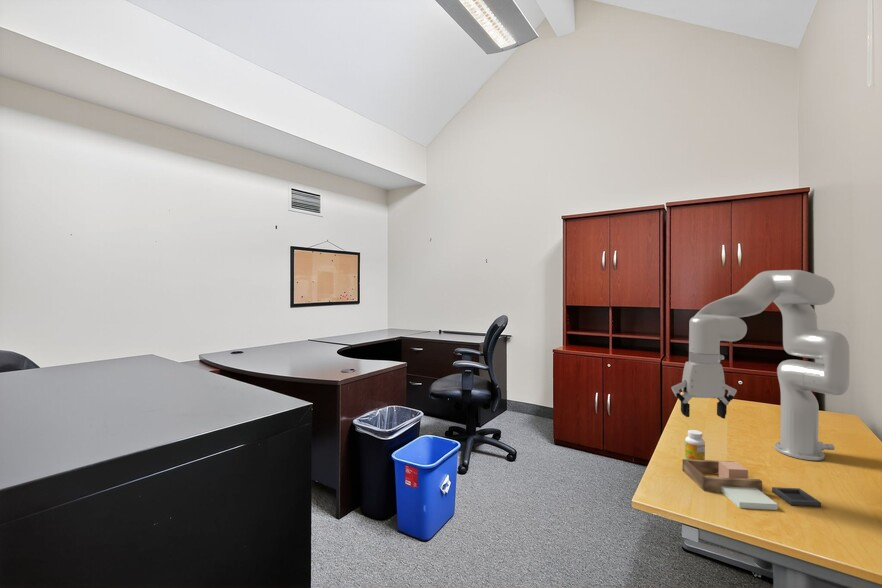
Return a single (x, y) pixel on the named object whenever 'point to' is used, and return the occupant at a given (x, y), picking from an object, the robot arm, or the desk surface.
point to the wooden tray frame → (714, 483)
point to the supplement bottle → (694, 446)
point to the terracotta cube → (732, 470)
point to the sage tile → (748, 498)
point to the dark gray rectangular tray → (796, 497)
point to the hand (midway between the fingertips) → (703, 416)
